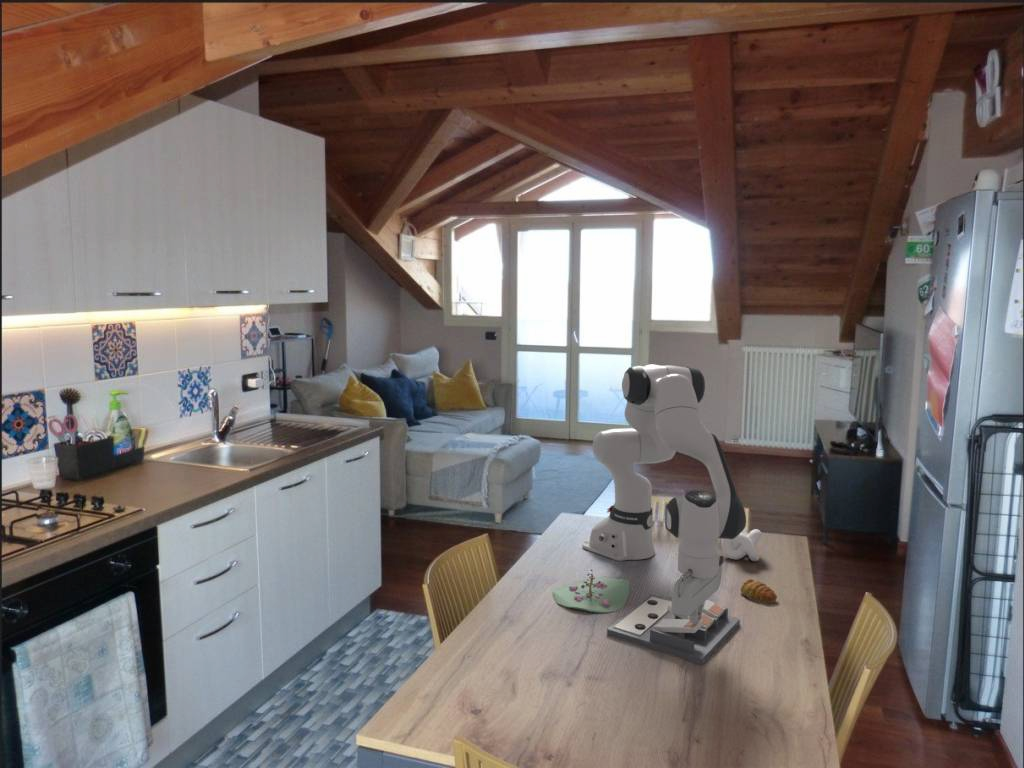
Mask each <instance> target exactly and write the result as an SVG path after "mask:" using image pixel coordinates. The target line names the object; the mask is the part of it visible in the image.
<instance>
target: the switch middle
mask: <svg viewBox="0 0 1024 768" xmlns="http://www.w3.org/2000/svg"><path fill="white" fill-rule="evenodd" d="M671 608H672V603H671V604H670V605H669V606H668V609H667V611H669V612H671V613H672V610H671ZM678 617H679V616H678ZM680 618H682V619H689V618H690V616H688V617H687V618H683V617H680ZM701 620H702V621H703V625H702V626H701V627H700V628H702V629H706V630H707V629H708V628H709V627H710V626H711V625H712V624H713V622H714V619H713V618H711V617H709V616H707V615H706V614H704V613H702V618H701Z"/></svg>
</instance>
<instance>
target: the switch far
mask: <svg viewBox="0 0 1024 768" xmlns="http://www.w3.org/2000/svg"><path fill="white" fill-rule="evenodd" d="M723 607H724V606H722V607H721V605H718V604H717V603H715V602H713V601H711V600H709V598H708V599H707V600H706V601H705V605H704V608H703V611H702V613H704V614H706V615H707V616H710V617H714V618H717V619H718V618H719V617H720V616H721V615H722V614H723V613H724V610H725V609H724V608H723Z"/></svg>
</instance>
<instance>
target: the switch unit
mask: <svg viewBox="0 0 1024 768" xmlns="http://www.w3.org/2000/svg"><path fill="white" fill-rule="evenodd" d="M671 603H672V599H669V598H665V597H662V596H658V595H654V594H650V595H648V597H645V599H644V600H642V601H641V602H640V603H638V604H637V605H636V606H635V607H633V608H632V609H631V610H629V611H628V612H627V613H626V614H624V615H623V616H622V617H621V618H619V619H618V620H616V622H614V623H613V624H611V625H610V626H609V627H608V628H607V629H606V635H607V636H609V637H613V638H616V639H619V640H623V641H625V642H629V643H631V644H635V645H638V646H640V647H644V648H648V649H651V650H653V651H656V652H660V653H663V654H666V655H669V656H673V657H675V658H679V659H681V660H685V661H688V662H691V663H694V664H698V665H700V666H703V665H704V664H705V663H706V661H708V660H709V658H710V657H711V656H712V655H713V654H714V653H715V652H716V651H717V650H718V648H719V647H721V645H722V644H723V643H724V642H725V641H726V640H727V639H728V638H729V637H730V635H732V634H733V632H734V631H736V629H737V628H738V627H739V626H740V623H741V618H738V617H735V616H732V615H729V607H725V606H721V605H720V606H721V607H723V608H724V609H725V610H724V613H723V614H722V615H721V616H720V617H719V618H718V619H717V618H714V617H711V618H713V619H714V622H713V624H712V625H711V626H710V627H709V628H708V629H707V630H706V629H702V628H699V629H698V630H697V631H696V632H695V633H679V632H662V631H658V630H655V629H654V626H656V625H657V624H658V623H659V622H660V621H661V620H662V619H682V618H680V617H678V616H676V615H673V613H671V612H669V611H667V609H668V606H669V605H670V604H671ZM709 617H710V616H709Z"/></svg>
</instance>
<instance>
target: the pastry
mask: <svg viewBox="0 0 1024 768" xmlns="http://www.w3.org/2000/svg"><path fill="white" fill-rule="evenodd" d="M740 592H741V594H742V595H743V596H744V597H747V598H748V599H750V598H751V600H753V601H756V600H757V601H756V602H759V601H760V603H762V604H763V603H766V604H772V603H774V602H776V600H777V598H778V595H777V594H776V593H775V591H774V590H773V589H771V587H770V586H768V585H767V584H766V583H763V582H761V581H759V580H757V581H756V580H754V579H753V578H749V579H745V581H744V582H743V583H742V585H741V587H740Z"/></svg>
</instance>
